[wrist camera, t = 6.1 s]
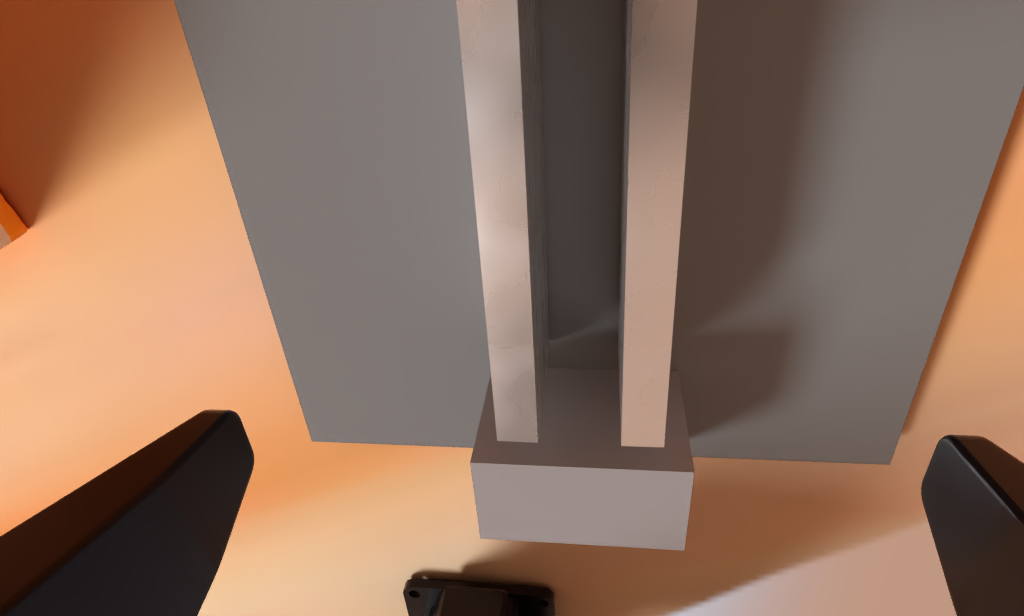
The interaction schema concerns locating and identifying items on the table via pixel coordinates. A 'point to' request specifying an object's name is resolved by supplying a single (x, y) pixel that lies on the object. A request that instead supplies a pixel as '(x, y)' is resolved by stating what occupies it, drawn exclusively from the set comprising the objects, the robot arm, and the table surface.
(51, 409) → the table surface
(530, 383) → the tong leg
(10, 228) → the supplement box
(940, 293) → the tong mat
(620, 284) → the tong leg
